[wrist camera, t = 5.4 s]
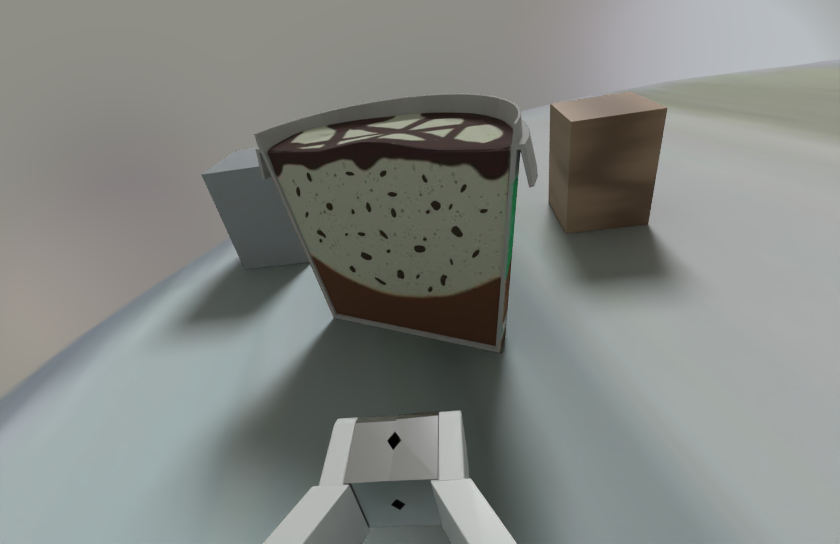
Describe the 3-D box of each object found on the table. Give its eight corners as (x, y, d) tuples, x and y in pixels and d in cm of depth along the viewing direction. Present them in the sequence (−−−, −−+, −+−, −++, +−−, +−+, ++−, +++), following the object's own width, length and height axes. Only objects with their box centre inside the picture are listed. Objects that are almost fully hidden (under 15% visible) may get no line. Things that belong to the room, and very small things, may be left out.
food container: (559, 280, 22) (567, 80, 17) (534, 360, 18) (533, 122, 12) (369, 257, 27) (329, 100, 22) (312, 313, 23) (245, 134, 18)
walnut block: (618, 193, 30) (630, 91, 26) (647, 224, 26) (667, 107, 22) (548, 202, 30) (550, 103, 27) (565, 233, 26) (571, 121, 22)
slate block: (329, 229, 32) (302, 140, 29) (312, 262, 28) (278, 163, 24) (269, 236, 33) (235, 150, 29) (244, 269, 29) (201, 174, 25)
